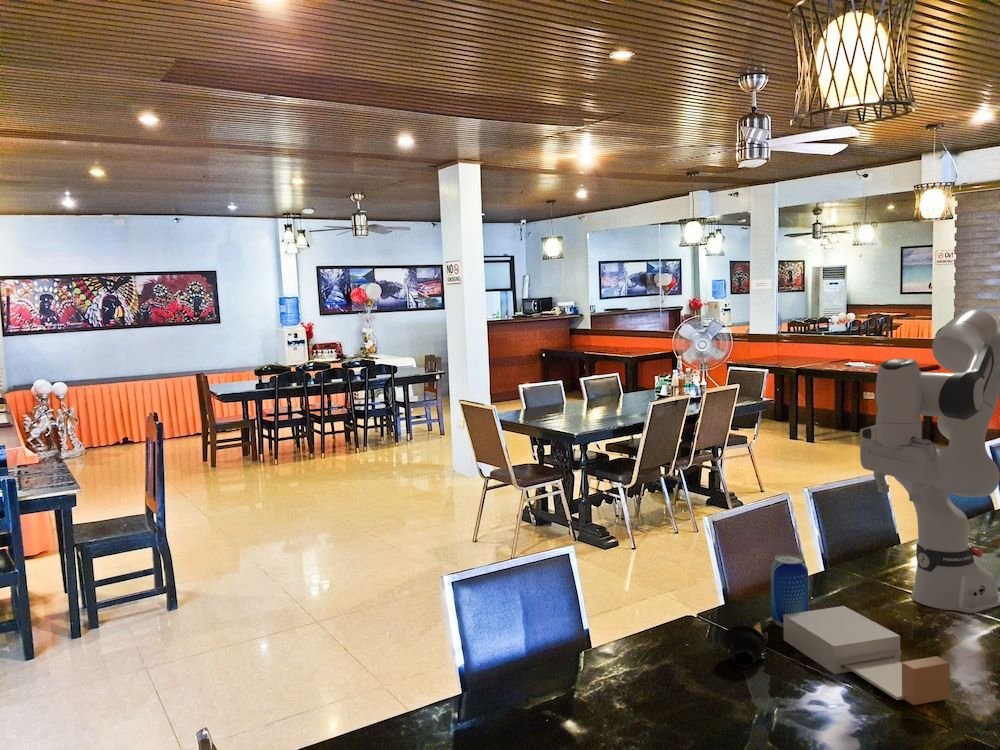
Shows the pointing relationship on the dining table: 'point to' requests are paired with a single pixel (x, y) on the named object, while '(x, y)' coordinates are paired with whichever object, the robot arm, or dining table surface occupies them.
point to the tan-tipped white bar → (907, 678)
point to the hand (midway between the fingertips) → (898, 496)
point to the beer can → (788, 587)
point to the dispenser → (839, 637)
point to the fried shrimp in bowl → (745, 643)
